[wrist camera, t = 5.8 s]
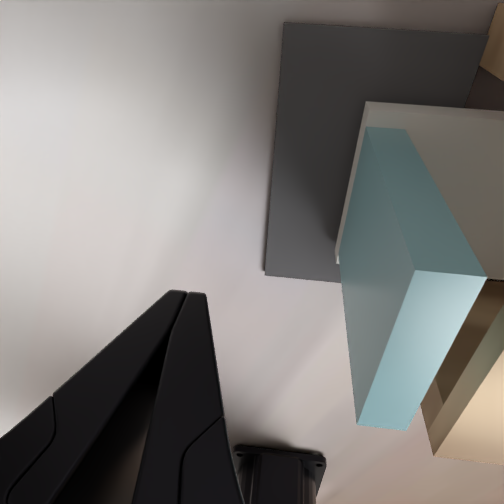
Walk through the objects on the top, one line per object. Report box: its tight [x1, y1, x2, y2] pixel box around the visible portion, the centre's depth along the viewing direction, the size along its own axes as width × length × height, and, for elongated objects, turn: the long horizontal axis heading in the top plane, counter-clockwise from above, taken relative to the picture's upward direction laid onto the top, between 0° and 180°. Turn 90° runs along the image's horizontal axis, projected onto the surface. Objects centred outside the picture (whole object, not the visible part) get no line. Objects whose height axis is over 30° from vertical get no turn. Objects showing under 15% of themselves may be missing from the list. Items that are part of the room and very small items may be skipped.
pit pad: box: [265, 22, 489, 283], centre depth 15 cm, size 10×6×1 cm, turn 178°
